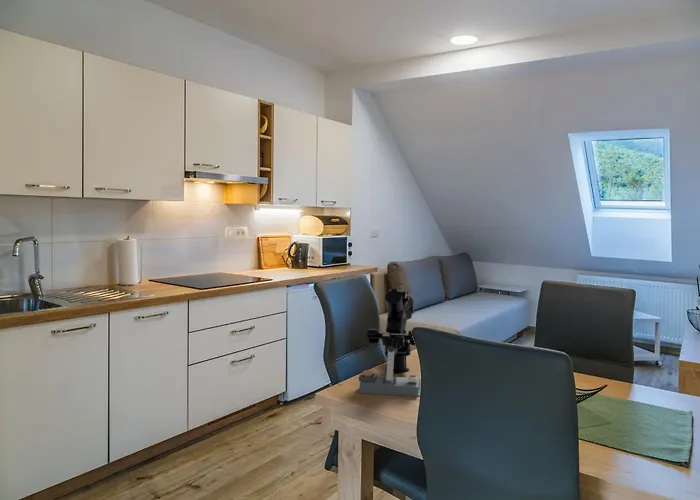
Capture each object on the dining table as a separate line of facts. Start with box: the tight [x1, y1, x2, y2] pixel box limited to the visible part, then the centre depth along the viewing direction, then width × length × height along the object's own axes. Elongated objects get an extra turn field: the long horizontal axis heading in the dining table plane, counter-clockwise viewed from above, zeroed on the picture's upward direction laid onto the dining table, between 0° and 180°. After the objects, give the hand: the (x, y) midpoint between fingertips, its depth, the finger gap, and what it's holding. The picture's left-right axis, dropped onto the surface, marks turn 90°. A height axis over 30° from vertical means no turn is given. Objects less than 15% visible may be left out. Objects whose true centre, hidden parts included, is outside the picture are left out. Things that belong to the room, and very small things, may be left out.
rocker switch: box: [407, 374, 418, 382], centre depth 169 cm, size 4×3×2 cm, turn 168°
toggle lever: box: [386, 346, 395, 381], centre depth 171 cm, size 2×2×12 cm
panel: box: [358, 372, 421, 397], centre depth 171 cm, size 9×20×5 cm, turn 78°
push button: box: [362, 369, 374, 377], centre depth 172 cm, size 3×3×2 cm
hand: (391, 358), depth 173 cm, fingers closed, pressing on toggle lever
